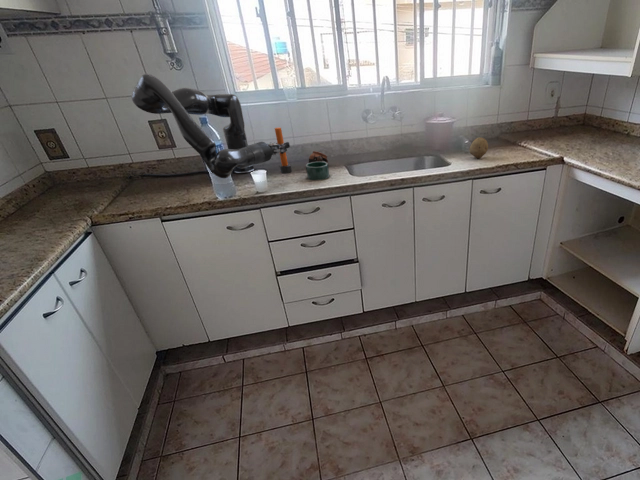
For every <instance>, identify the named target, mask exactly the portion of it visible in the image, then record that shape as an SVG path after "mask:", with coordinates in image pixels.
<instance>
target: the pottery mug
mask: <svg viewBox="0 0 640 480" xmlns="http://www.w3.org/2000/svg"><path fill="white" fill-rule="evenodd" d="M312 162H327V163H328V164H329V160H328V155H326V154H324V153H322V152H320V151H317V150H314V151H312V153H311V154H310V155H309V157H308V163H312ZM308 163H307V164H308Z"/></svg>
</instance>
